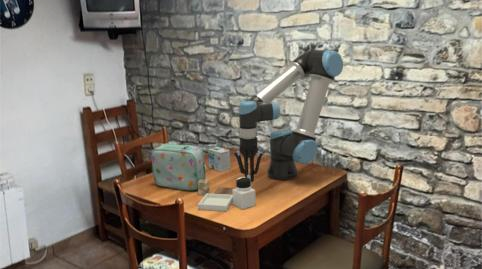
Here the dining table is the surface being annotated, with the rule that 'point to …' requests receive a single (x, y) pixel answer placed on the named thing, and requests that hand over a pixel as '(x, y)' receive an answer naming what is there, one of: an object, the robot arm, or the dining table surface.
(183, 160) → the lunch box
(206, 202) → the tray
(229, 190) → the board
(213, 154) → the light bulb box
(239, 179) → the medicine bottle
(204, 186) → the clear glass cylinder
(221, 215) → the dining table surface
